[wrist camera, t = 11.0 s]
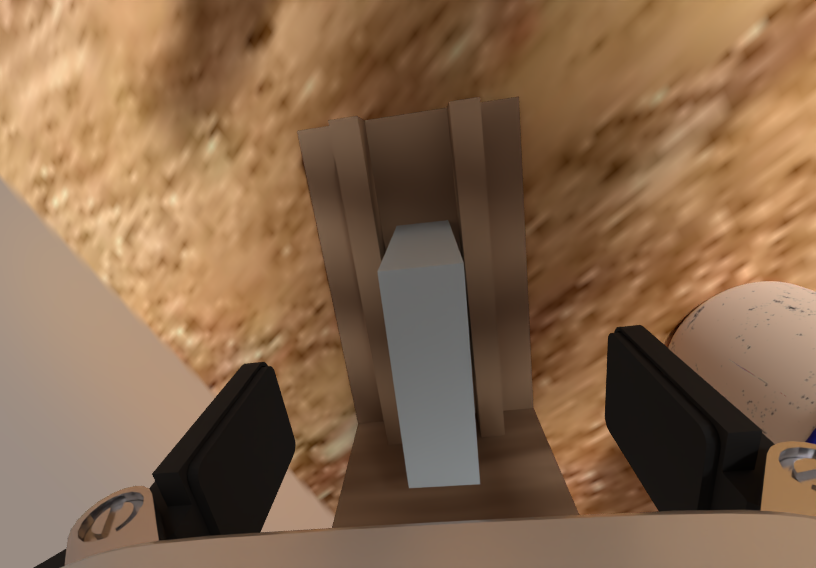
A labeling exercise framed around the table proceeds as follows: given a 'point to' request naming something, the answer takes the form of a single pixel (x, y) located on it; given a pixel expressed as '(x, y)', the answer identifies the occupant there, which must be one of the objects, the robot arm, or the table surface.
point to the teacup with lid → (758, 354)
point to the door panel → (430, 354)
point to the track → (485, 293)
